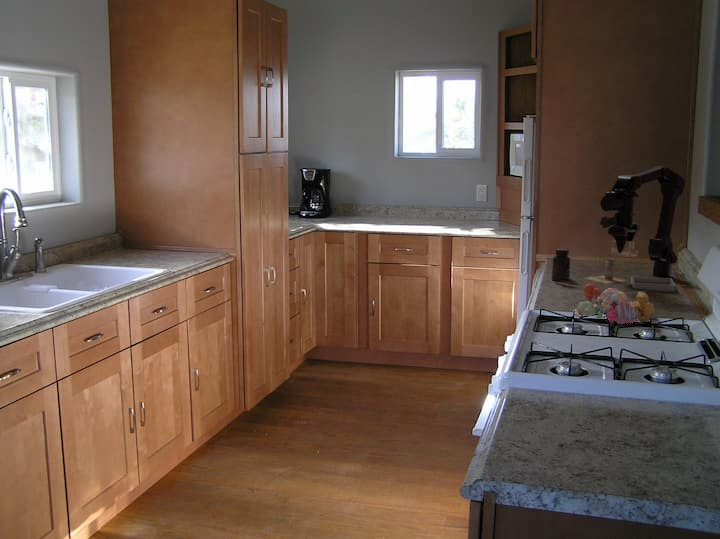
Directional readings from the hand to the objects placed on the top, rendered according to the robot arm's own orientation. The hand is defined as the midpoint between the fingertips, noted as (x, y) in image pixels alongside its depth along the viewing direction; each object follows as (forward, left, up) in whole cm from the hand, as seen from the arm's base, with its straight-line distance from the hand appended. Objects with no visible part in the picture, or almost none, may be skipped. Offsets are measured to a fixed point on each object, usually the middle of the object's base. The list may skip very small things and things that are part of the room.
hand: (622, 251), depth 293 cm
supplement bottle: (+17, -14, -12) cm, 25 cm away
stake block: (+3, -5, -12) cm, 13 cm away
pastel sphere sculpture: (+44, +36, -13) cm, 58 cm away
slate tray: (-3, +12, -12) cm, 17 cm away
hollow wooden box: (0, 0, -1) cm, 1 cm away
